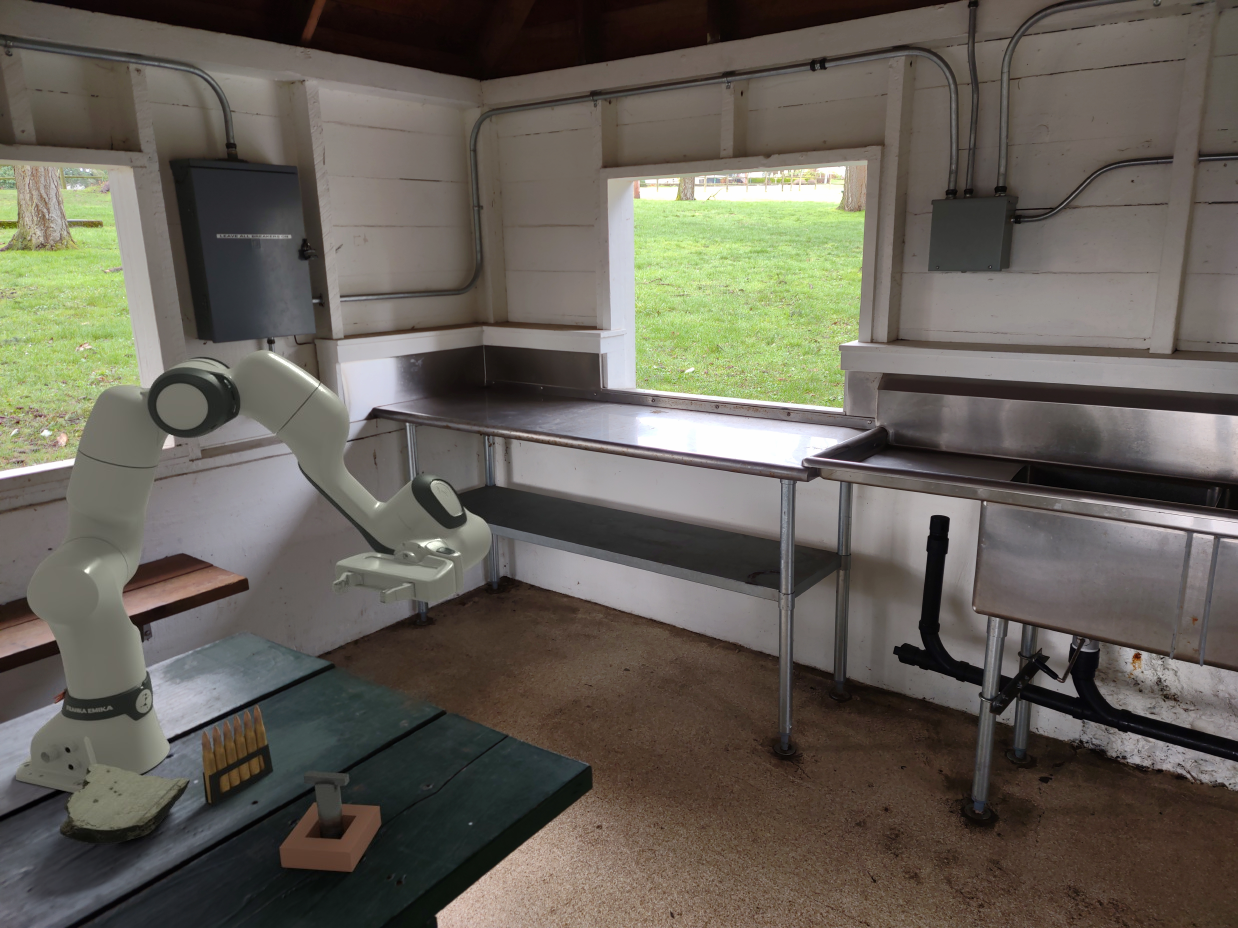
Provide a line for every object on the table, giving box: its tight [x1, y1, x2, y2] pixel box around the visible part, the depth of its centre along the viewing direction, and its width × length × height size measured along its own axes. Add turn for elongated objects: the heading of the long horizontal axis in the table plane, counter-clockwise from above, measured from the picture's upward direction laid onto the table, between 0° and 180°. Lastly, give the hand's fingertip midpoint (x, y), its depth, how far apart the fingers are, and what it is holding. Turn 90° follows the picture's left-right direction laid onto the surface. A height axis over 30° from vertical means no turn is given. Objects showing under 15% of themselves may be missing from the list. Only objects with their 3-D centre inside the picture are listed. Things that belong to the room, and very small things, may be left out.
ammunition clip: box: [201, 704, 274, 807], centre depth 132 cm, size 11×2×12 cm, turn 148°
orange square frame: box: [278, 802, 382, 873], centre depth 119 cm, size 10×10×3 cm
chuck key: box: [303, 770, 350, 840], centre depth 118 cm, size 6×3×11 cm, turn 82°
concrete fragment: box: [59, 764, 191, 845], centre depth 123 cm, size 15×10×15 cm
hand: (359, 593), depth 126 cm, fingers open, 8 cm apart
